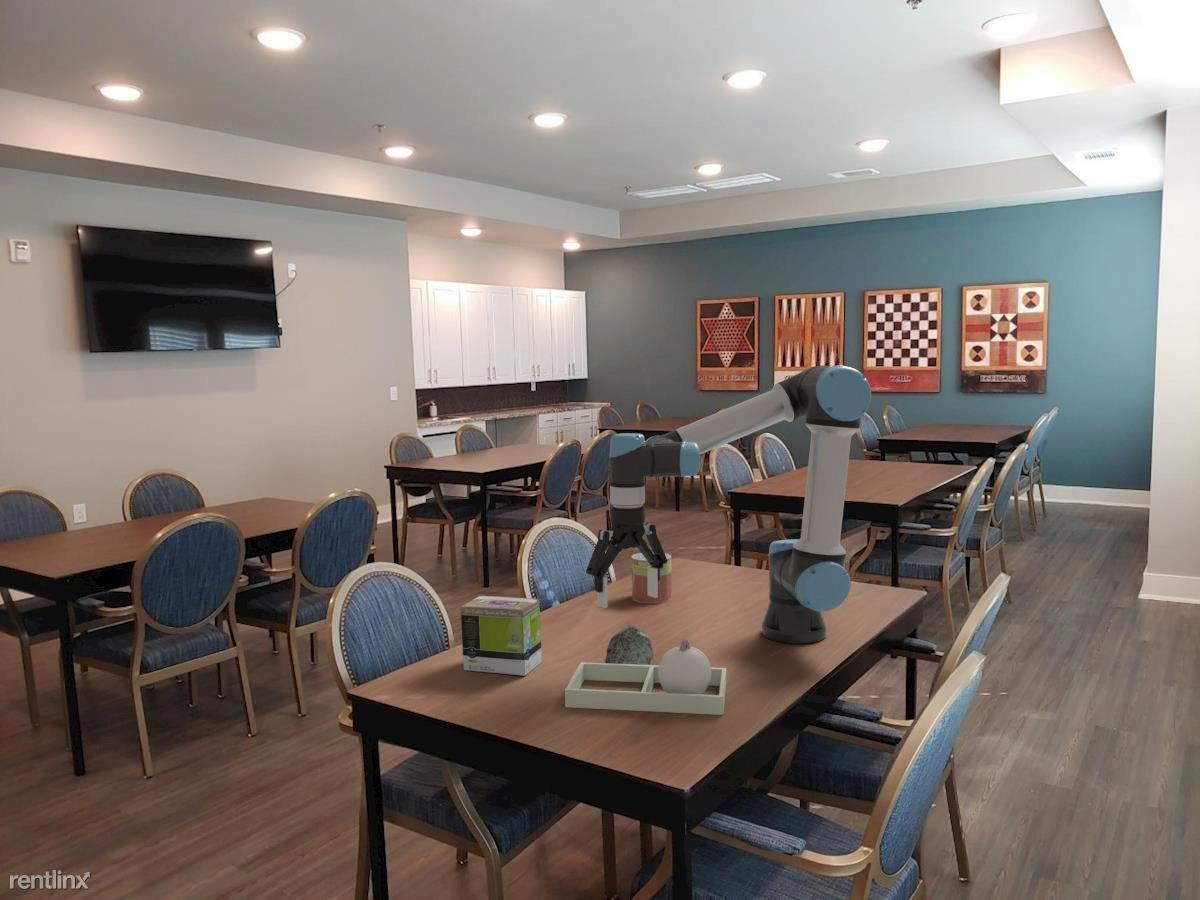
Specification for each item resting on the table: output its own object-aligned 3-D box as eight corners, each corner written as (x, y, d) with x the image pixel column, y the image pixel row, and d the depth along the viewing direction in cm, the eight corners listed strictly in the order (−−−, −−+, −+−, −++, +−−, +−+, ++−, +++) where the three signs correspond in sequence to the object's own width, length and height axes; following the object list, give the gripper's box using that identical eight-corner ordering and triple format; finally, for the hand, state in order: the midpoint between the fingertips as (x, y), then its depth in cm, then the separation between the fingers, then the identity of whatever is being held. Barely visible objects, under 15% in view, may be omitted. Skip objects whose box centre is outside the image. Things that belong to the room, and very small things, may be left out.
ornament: (697, 711, 167) (696, 650, 166) (650, 701, 172) (648, 642, 171) (719, 693, 175) (719, 635, 174) (673, 684, 181) (673, 627, 180)
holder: (726, 684, 180) (726, 668, 180) (723, 715, 165) (723, 697, 164) (581, 678, 186) (580, 662, 185) (565, 707, 170) (564, 689, 170)
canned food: (634, 592, 253) (633, 551, 252) (673, 593, 252) (672, 551, 251) (630, 603, 242) (629, 560, 241) (670, 603, 241) (670, 560, 240)
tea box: (543, 662, 196) (541, 597, 195) (524, 677, 187) (522, 610, 185) (482, 656, 201) (480, 593, 200) (461, 671, 192) (459, 605, 190)
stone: (630, 627, 187) (636, 613, 197) (595, 655, 189) (603, 639, 199) (659, 661, 186) (664, 645, 196) (624, 689, 189) (631, 671, 198)
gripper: (661, 497, 199) (661, 588, 202) (569, 508, 185) (570, 606, 187) (683, 501, 193) (683, 595, 195) (589, 513, 179) (590, 615, 181)
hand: (628, 601), depth 191 cm, fingers open, 13 cm apart
